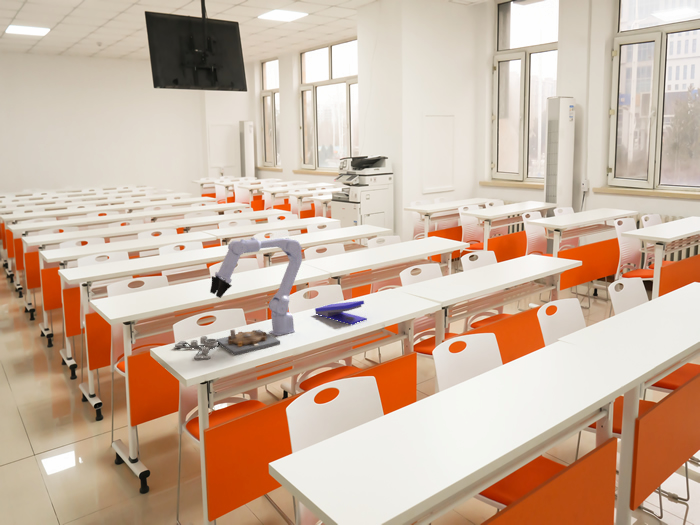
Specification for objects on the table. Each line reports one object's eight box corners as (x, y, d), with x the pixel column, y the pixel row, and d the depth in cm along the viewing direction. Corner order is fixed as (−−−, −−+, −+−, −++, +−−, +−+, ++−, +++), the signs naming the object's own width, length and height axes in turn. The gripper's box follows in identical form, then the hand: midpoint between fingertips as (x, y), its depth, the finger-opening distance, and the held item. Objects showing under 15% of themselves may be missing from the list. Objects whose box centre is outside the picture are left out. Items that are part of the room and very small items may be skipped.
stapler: (350, 325, 266) (349, 305, 264) (314, 315, 286) (312, 297, 285) (368, 320, 273) (367, 300, 271) (331, 310, 294) (330, 292, 292)
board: (259, 332, 262) (259, 328, 262) (280, 344, 244) (279, 339, 244) (216, 342, 251) (216, 338, 251) (234, 355, 233) (234, 350, 233)
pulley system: (203, 341, 258) (171, 347, 249) (203, 331, 257) (171, 337, 248) (231, 357, 237) (198, 364, 228) (231, 346, 236) (197, 353, 227)
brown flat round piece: (257, 331, 259) (256, 320, 258) (273, 340, 245) (272, 329, 244) (221, 339, 250) (220, 328, 249) (236, 349, 236) (235, 337, 235)
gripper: (214, 260, 248) (201, 288, 247) (226, 265, 236) (212, 295, 235) (228, 266, 252) (215, 293, 251) (240, 272, 240) (227, 301, 239)
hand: (215, 295), depth 243 cm, fingers open, 7 cm apart
